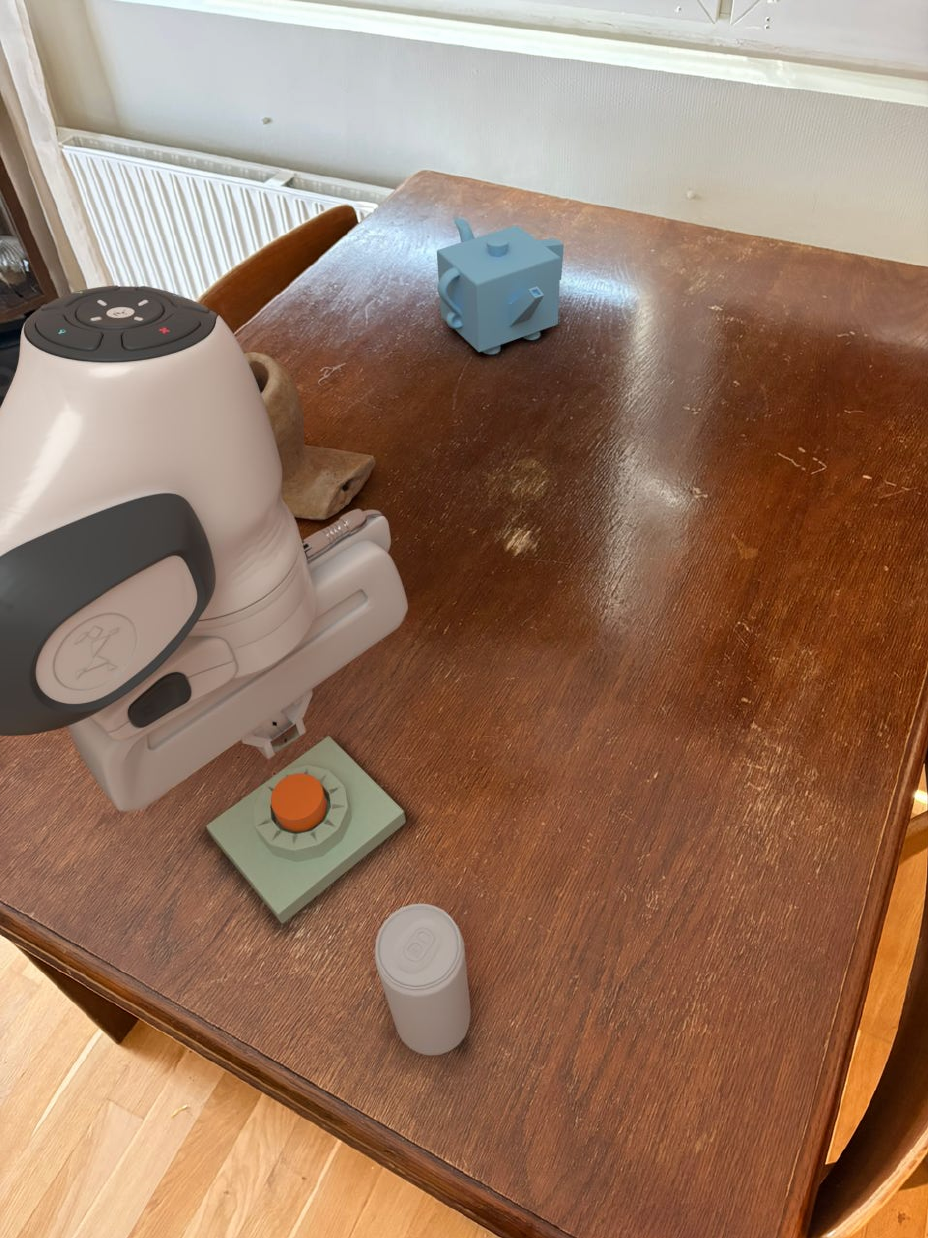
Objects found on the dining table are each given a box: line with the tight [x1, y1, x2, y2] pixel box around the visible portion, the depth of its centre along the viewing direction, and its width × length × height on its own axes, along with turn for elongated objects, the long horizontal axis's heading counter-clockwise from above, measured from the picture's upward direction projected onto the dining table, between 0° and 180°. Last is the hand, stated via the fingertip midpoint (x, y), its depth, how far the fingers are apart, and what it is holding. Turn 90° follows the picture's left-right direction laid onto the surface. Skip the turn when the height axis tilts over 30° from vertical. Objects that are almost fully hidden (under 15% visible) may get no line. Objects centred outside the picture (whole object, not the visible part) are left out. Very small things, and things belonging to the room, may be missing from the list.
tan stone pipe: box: [244, 351, 376, 521], centre depth 83 cm, size 15×12×15 cm
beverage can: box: [374, 903, 471, 1057], centre depth 52 cm, size 5×5×12 cm
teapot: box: [436, 217, 565, 355], centre depth 103 cm, size 16×18×11 cm
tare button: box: [271, 774, 327, 832], centre depth 62 cm, size 4×4×2 cm
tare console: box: [206, 735, 407, 925], centre depth 64 cm, size 11×9×4 cm
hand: (280, 739), depth 56 cm, fingers closed
